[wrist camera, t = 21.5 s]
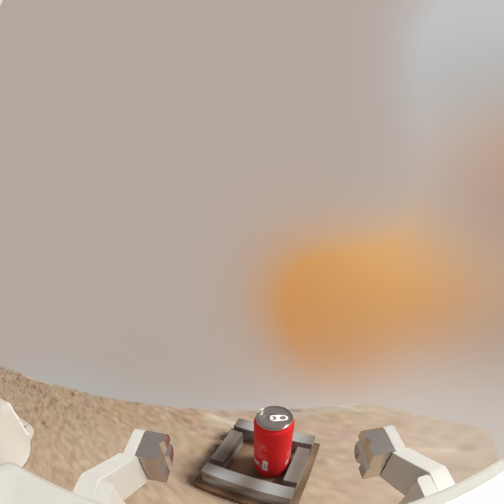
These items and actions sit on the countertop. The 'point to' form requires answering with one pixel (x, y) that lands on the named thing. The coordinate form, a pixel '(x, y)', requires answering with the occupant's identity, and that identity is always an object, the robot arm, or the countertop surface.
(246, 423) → the socket block
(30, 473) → the robot arm
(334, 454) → the countertop surface
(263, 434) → the beverage can
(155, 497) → the countertop surface
